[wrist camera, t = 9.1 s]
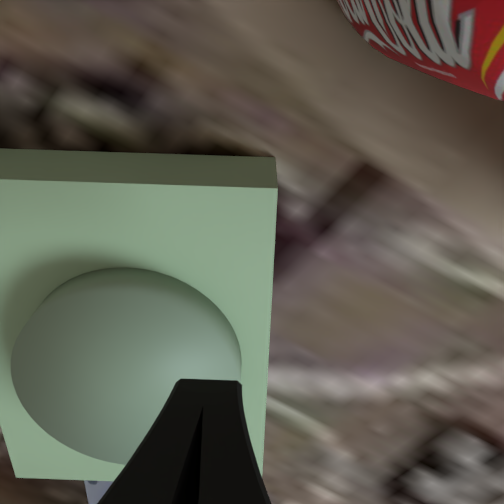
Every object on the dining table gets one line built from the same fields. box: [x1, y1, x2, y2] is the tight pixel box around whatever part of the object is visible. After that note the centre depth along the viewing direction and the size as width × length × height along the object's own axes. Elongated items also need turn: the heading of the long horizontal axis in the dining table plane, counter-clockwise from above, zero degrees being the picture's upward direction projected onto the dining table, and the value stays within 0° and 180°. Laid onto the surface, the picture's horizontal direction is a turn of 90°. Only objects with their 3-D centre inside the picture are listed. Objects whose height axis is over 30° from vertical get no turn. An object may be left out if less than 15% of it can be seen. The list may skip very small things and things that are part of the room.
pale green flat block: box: [0, 148, 278, 481], centre depth 19 cm, size 14×17×5 cm
